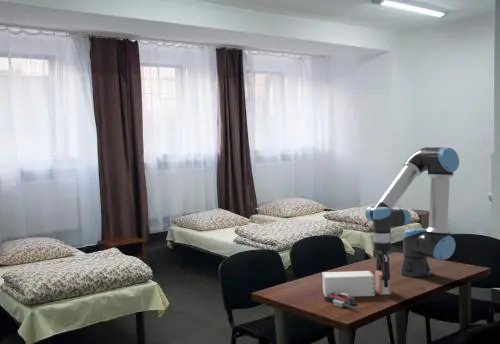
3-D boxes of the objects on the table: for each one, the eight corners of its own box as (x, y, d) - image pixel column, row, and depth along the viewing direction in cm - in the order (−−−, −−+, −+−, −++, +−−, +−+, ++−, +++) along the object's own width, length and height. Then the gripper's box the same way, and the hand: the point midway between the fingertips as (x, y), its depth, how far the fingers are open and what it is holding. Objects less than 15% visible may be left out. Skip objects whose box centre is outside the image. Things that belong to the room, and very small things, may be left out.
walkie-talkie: (320, 302, 226) (355, 313, 210) (320, 292, 225) (355, 302, 209) (334, 297, 231) (370, 308, 215) (334, 288, 231) (369, 298, 215)
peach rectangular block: (386, 289, 239) (386, 270, 238) (390, 294, 231) (390, 274, 230) (375, 289, 239) (375, 270, 238) (379, 294, 231) (379, 275, 230)
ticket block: (370, 289, 239) (369, 270, 239) (374, 295, 230) (374, 275, 230) (322, 291, 239) (322, 272, 239) (325, 297, 230) (325, 277, 230)
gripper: (368, 237, 244) (369, 284, 245) (379, 246, 223) (380, 298, 224) (384, 236, 244) (385, 284, 245) (396, 246, 223) (397, 297, 224)
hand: (383, 290), depth 235 cm, fingers closed on peach rectangular block, 8 cm apart
